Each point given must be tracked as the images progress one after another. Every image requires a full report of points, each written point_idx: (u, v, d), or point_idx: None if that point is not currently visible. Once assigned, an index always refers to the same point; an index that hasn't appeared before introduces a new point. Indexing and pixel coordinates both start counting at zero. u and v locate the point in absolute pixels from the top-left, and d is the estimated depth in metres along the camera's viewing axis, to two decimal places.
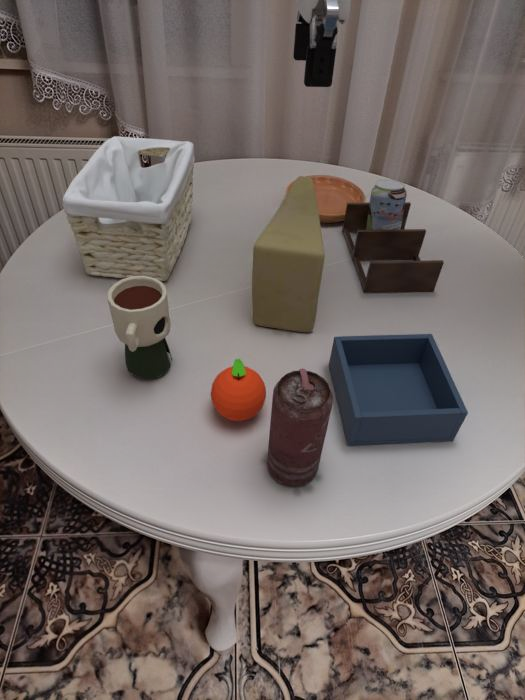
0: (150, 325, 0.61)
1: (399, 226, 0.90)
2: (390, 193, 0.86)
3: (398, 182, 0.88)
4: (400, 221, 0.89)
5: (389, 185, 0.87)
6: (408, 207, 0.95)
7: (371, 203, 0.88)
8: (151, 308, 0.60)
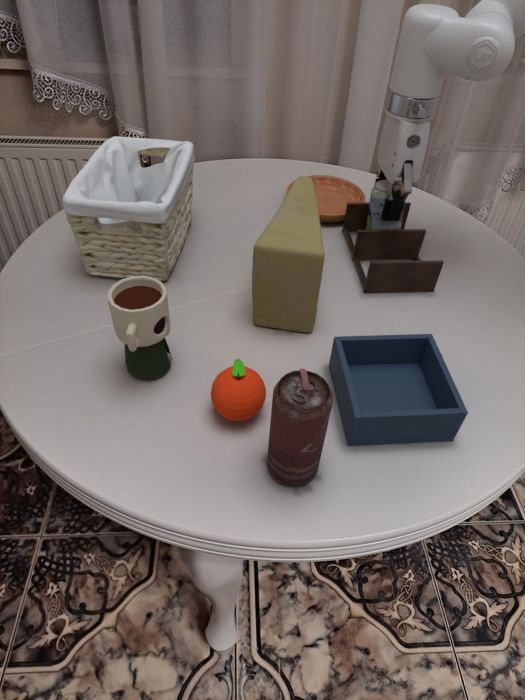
0: (150, 325, 0.61)
1: (399, 226, 0.90)
2: None
3: None
4: (400, 221, 0.89)
5: None
6: (408, 207, 0.95)
7: (371, 204, 0.88)
8: (151, 308, 0.60)
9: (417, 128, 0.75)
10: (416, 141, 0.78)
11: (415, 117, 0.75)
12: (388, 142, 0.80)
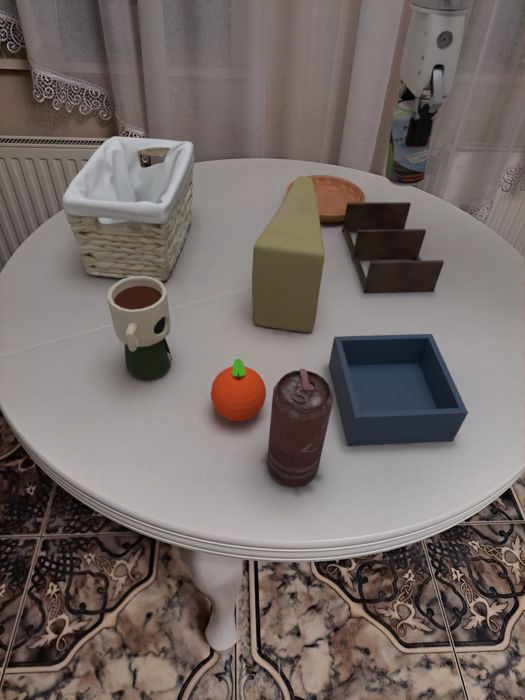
0: (150, 325, 0.61)
1: (425, 155, 0.78)
2: None
3: (424, 102, 0.76)
4: (427, 149, 0.77)
5: (414, 105, 0.75)
6: (408, 207, 0.95)
7: (393, 129, 0.76)
8: (151, 308, 0.60)
9: (450, 22, 0.64)
10: (448, 41, 0.66)
11: (447, 8, 0.63)
12: (414, 47, 0.68)
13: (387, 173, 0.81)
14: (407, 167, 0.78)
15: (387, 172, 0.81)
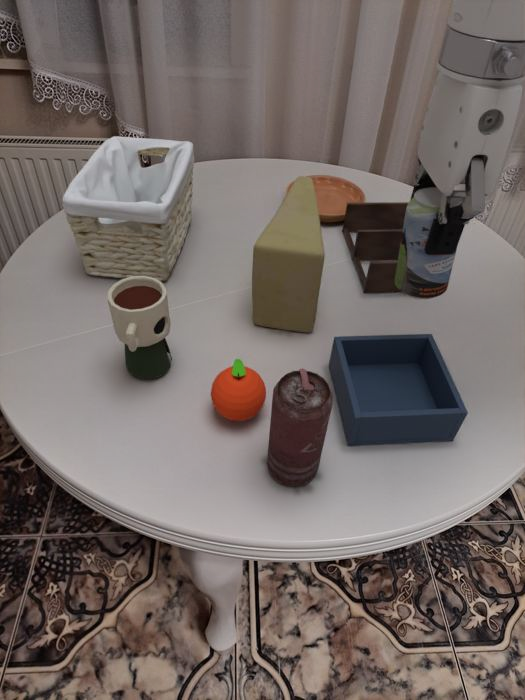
0: (150, 325, 0.61)
1: (451, 262, 0.56)
2: None
3: None
4: (453, 255, 0.55)
5: (437, 198, 0.53)
6: None
7: (407, 228, 0.54)
8: (151, 308, 0.60)
9: (500, 98, 0.42)
10: (494, 121, 0.44)
11: (496, 77, 0.41)
12: (442, 125, 0.47)
13: (397, 281, 0.59)
14: (426, 279, 0.56)
15: (397, 280, 0.59)
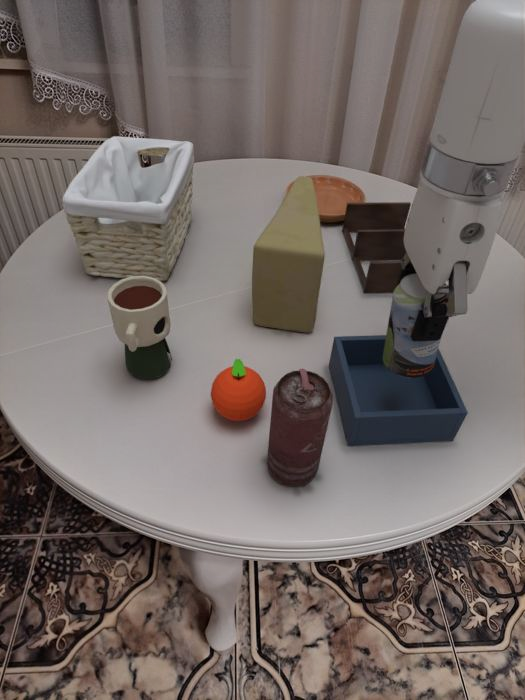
0: (150, 325, 0.61)
1: (437, 345, 0.57)
2: None
3: None
4: (439, 339, 0.57)
5: (423, 286, 0.54)
6: (408, 207, 0.95)
7: (394, 314, 0.56)
8: (151, 308, 0.60)
9: (481, 213, 0.43)
10: (476, 230, 0.45)
11: (477, 194, 0.43)
12: (426, 228, 0.48)
13: (385, 359, 0.60)
14: (413, 361, 0.57)
15: (385, 358, 0.60)
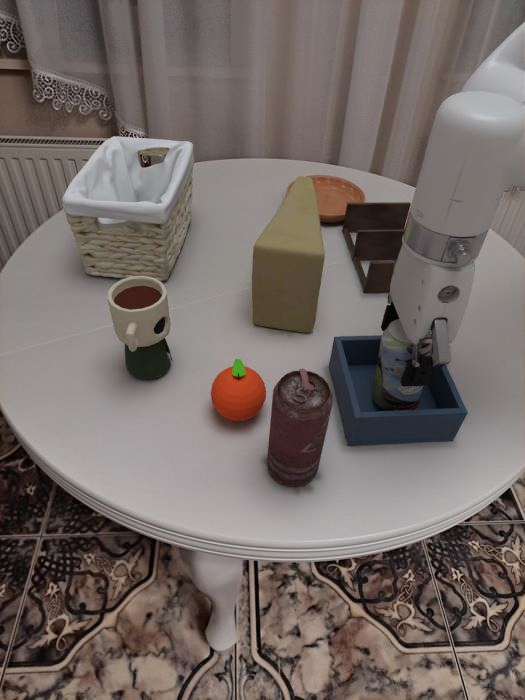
0: (150, 325, 0.61)
1: None
2: (410, 347, 0.58)
3: None
4: None
5: None
6: (408, 207, 0.95)
7: (382, 355, 0.61)
8: (151, 308, 0.60)
9: (456, 277, 0.48)
10: (452, 290, 0.50)
11: (452, 261, 0.48)
12: (408, 285, 0.53)
13: (374, 396, 0.65)
14: (400, 398, 0.62)
15: (374, 395, 0.65)
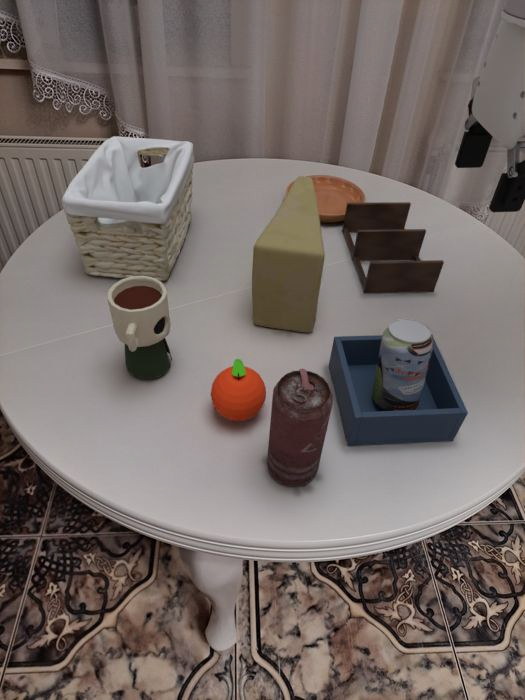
0: (150, 325, 0.61)
1: (422, 384, 0.63)
2: (411, 347, 0.58)
3: (421, 325, 0.61)
4: (424, 378, 0.62)
5: (409, 331, 0.60)
6: (408, 207, 0.95)
7: (383, 355, 0.61)
8: (151, 308, 0.60)
9: None
10: None
11: None
12: (506, 77, 0.47)
13: (374, 396, 0.65)
14: (400, 398, 0.62)
15: (374, 395, 0.65)
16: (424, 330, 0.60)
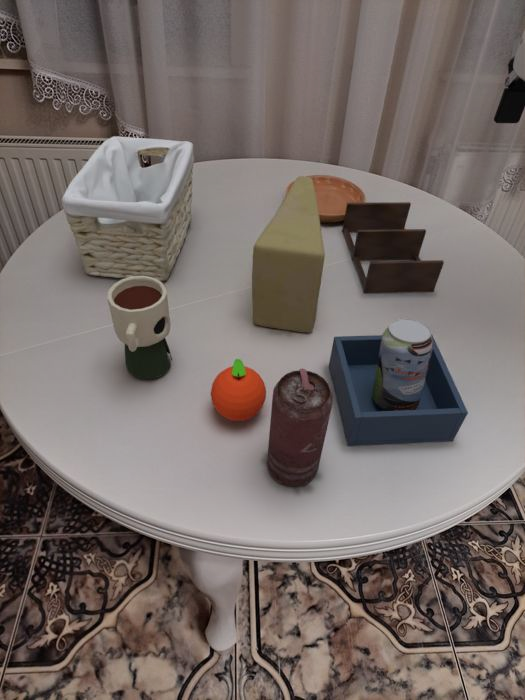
0: (150, 325, 0.61)
1: (422, 384, 0.63)
2: (411, 347, 0.58)
3: (421, 325, 0.61)
4: (424, 378, 0.62)
5: (409, 331, 0.60)
6: (408, 207, 0.95)
7: (383, 355, 0.61)
8: (151, 308, 0.60)
9: None
10: None
11: None
12: None
13: (374, 396, 0.65)
14: (400, 398, 0.62)
15: (374, 395, 0.65)
16: (424, 330, 0.60)
